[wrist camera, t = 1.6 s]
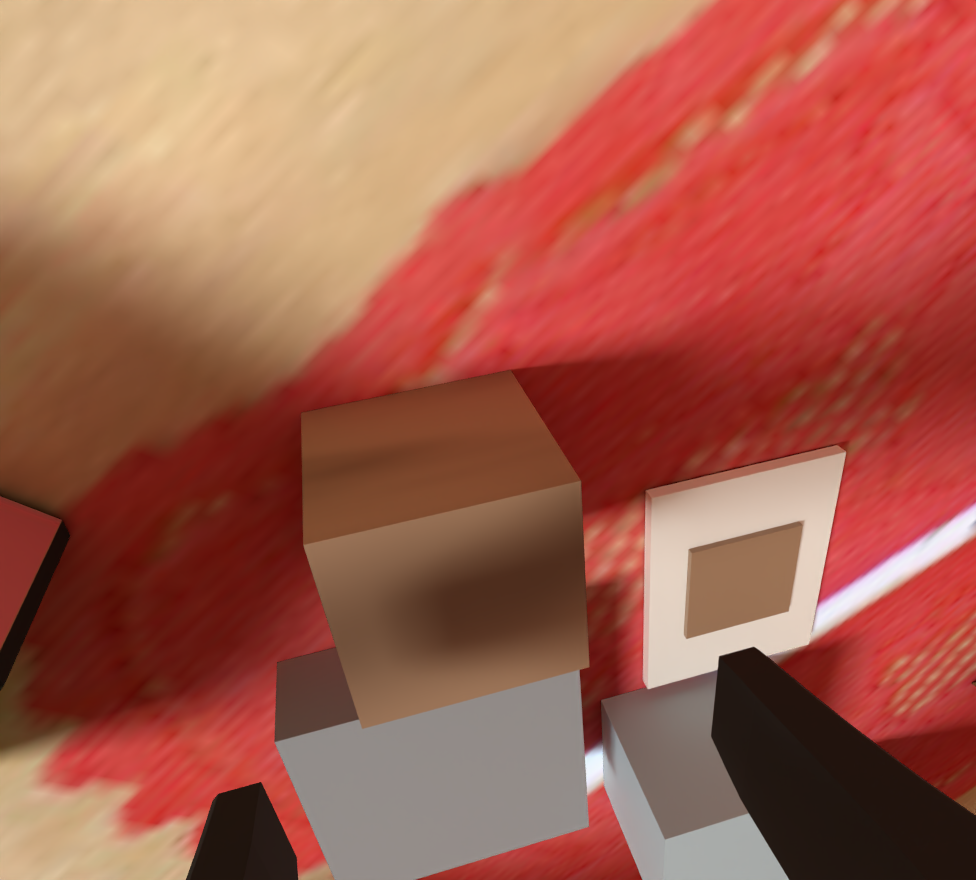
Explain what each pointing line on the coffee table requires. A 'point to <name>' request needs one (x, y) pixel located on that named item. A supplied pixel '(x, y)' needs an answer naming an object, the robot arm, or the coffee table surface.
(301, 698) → the slate base
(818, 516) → the card
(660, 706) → the gray block
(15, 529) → the puzzle cube
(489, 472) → the walnut block
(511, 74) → the coffee table surface
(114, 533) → the coffee table surface
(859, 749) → the robot arm
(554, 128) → the coffee table surface
